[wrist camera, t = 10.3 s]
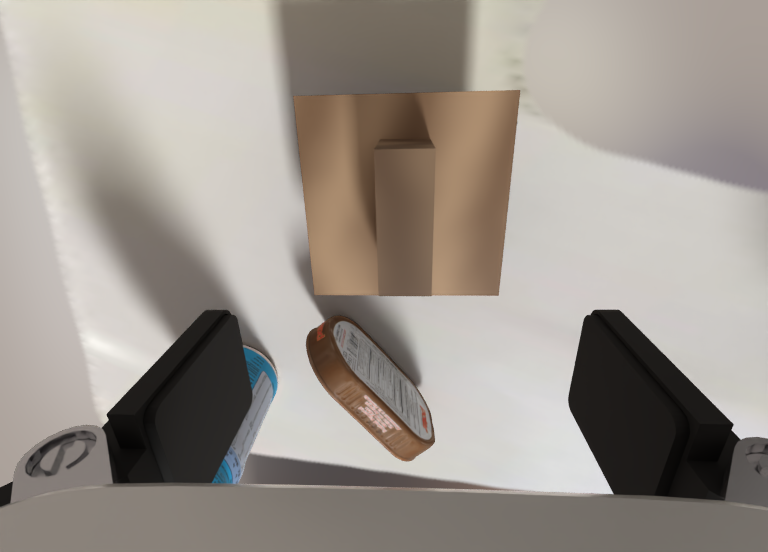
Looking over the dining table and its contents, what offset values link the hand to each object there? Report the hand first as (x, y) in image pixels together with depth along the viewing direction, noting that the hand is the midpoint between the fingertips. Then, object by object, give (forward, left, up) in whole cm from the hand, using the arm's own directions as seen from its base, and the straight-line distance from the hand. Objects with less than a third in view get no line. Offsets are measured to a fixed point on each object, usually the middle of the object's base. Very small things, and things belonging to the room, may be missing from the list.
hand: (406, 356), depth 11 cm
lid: (0, 0, -17) cm, 17 cm away
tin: (+3, +17, -24) cm, 29 cm away
